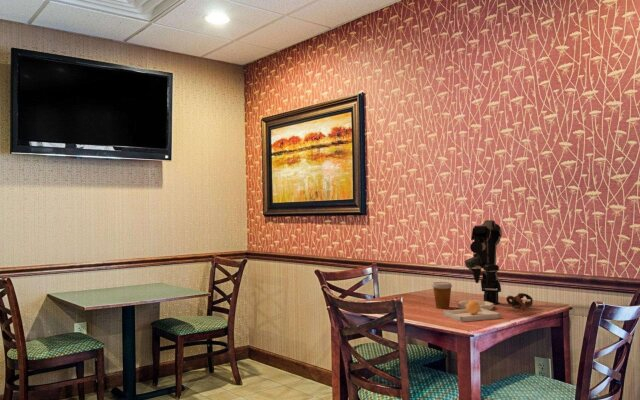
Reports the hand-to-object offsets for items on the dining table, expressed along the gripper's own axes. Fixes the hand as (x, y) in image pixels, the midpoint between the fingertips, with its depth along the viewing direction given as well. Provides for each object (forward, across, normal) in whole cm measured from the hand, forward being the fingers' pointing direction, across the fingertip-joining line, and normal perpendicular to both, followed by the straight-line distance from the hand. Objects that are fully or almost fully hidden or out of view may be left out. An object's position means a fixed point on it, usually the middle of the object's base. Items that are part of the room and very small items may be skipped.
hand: (482, 284), depth 260 cm
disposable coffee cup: (+12, -12, -15) cm, 23 cm away
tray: (+12, +13, -15) cm, 23 cm away
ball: (+8, +11, -12) cm, 19 cm away
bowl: (+12, -5, -1) cm, 13 cm away
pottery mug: (+12, +4, +17) cm, 22 cm away
